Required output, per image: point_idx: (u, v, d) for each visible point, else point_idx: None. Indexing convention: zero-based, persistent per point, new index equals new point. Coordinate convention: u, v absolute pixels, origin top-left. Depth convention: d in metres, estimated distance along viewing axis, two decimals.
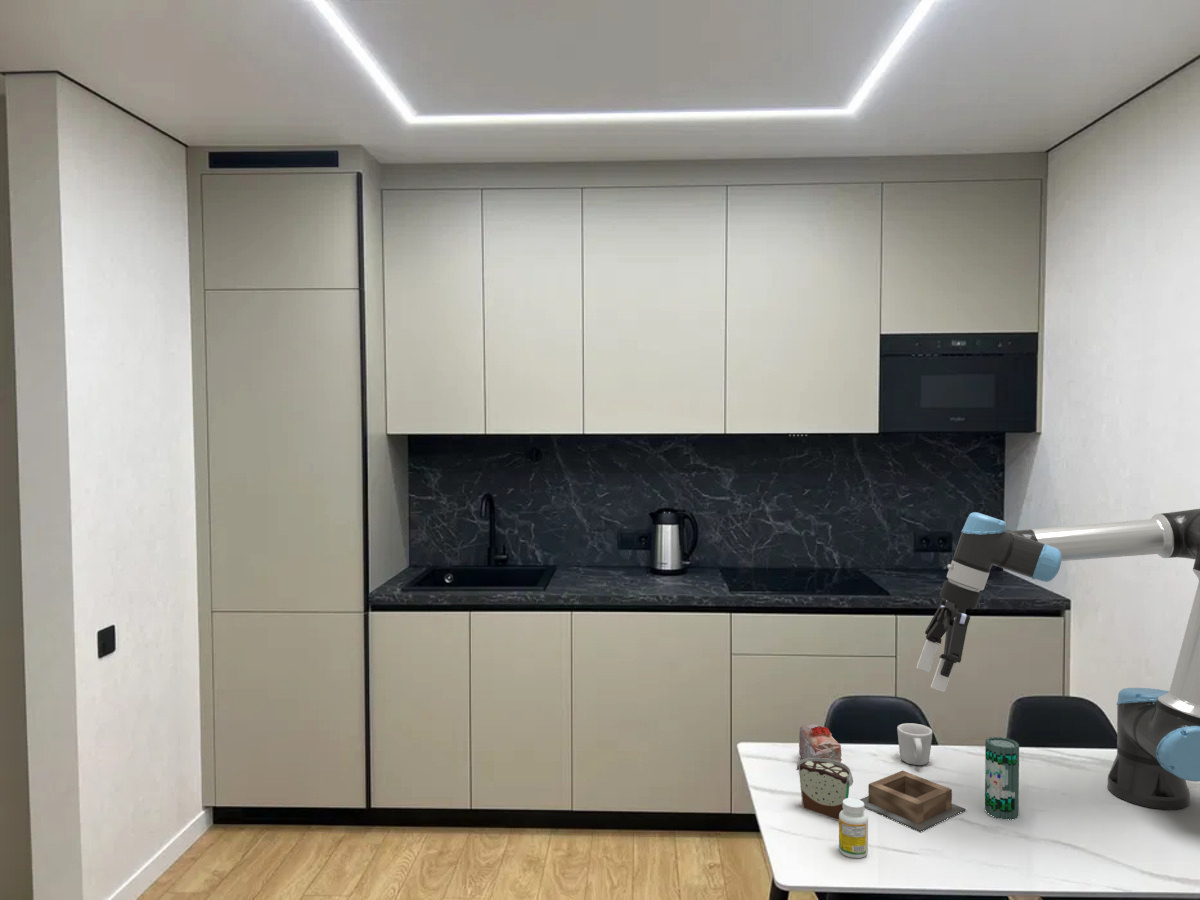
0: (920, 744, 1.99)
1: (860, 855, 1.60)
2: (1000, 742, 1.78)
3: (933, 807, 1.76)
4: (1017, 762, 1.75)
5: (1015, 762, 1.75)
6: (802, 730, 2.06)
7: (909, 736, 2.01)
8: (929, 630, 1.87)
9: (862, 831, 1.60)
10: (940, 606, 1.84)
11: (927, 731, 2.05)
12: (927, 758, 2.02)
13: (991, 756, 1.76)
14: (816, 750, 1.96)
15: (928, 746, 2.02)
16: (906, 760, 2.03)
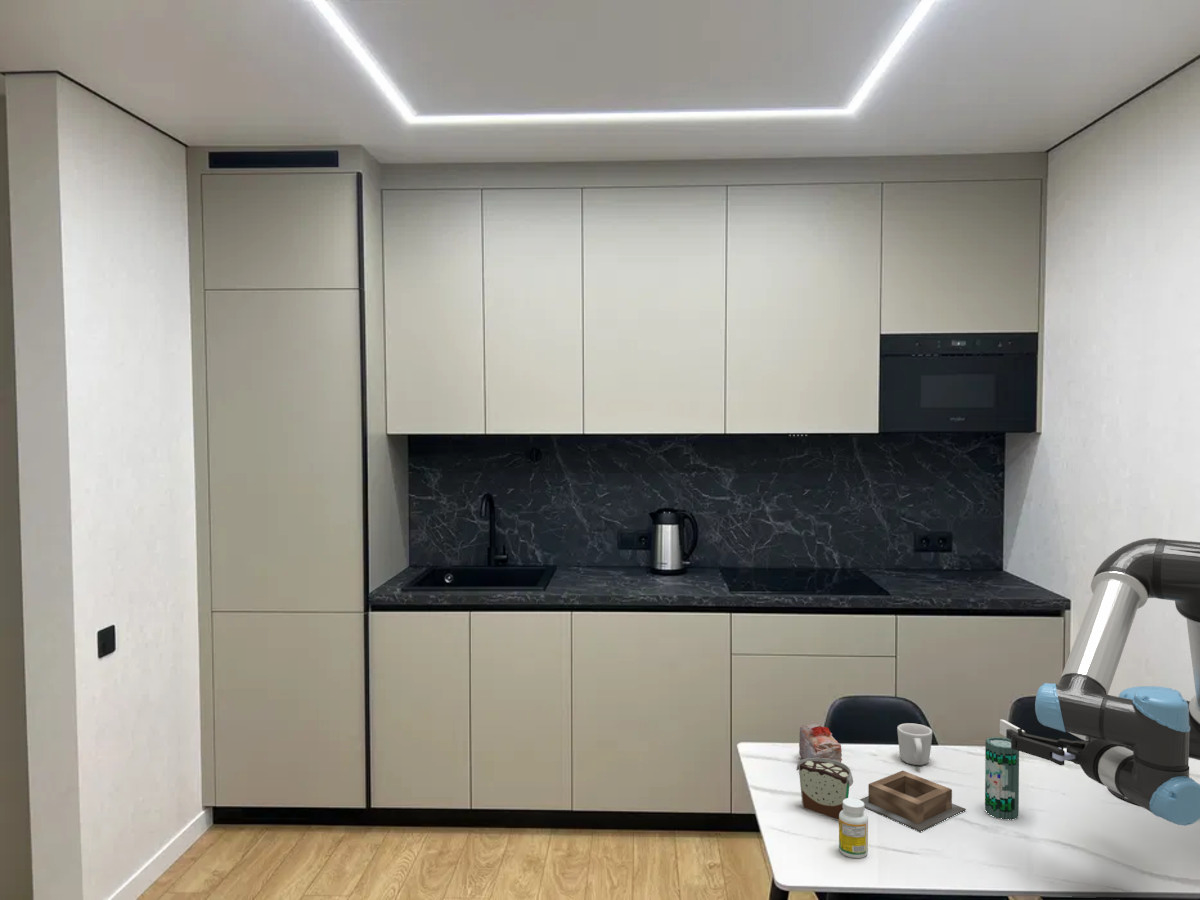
0: (920, 744, 1.99)
1: (860, 855, 1.60)
2: (1000, 742, 1.78)
3: (933, 807, 1.76)
4: (1017, 762, 1.75)
5: (1015, 762, 1.75)
6: (802, 730, 2.06)
7: (909, 736, 2.01)
8: None
9: (862, 831, 1.60)
10: None
11: (927, 731, 2.05)
12: (927, 758, 2.02)
13: (991, 756, 1.76)
14: (816, 750, 1.96)
15: (928, 746, 2.02)
16: (906, 760, 2.03)
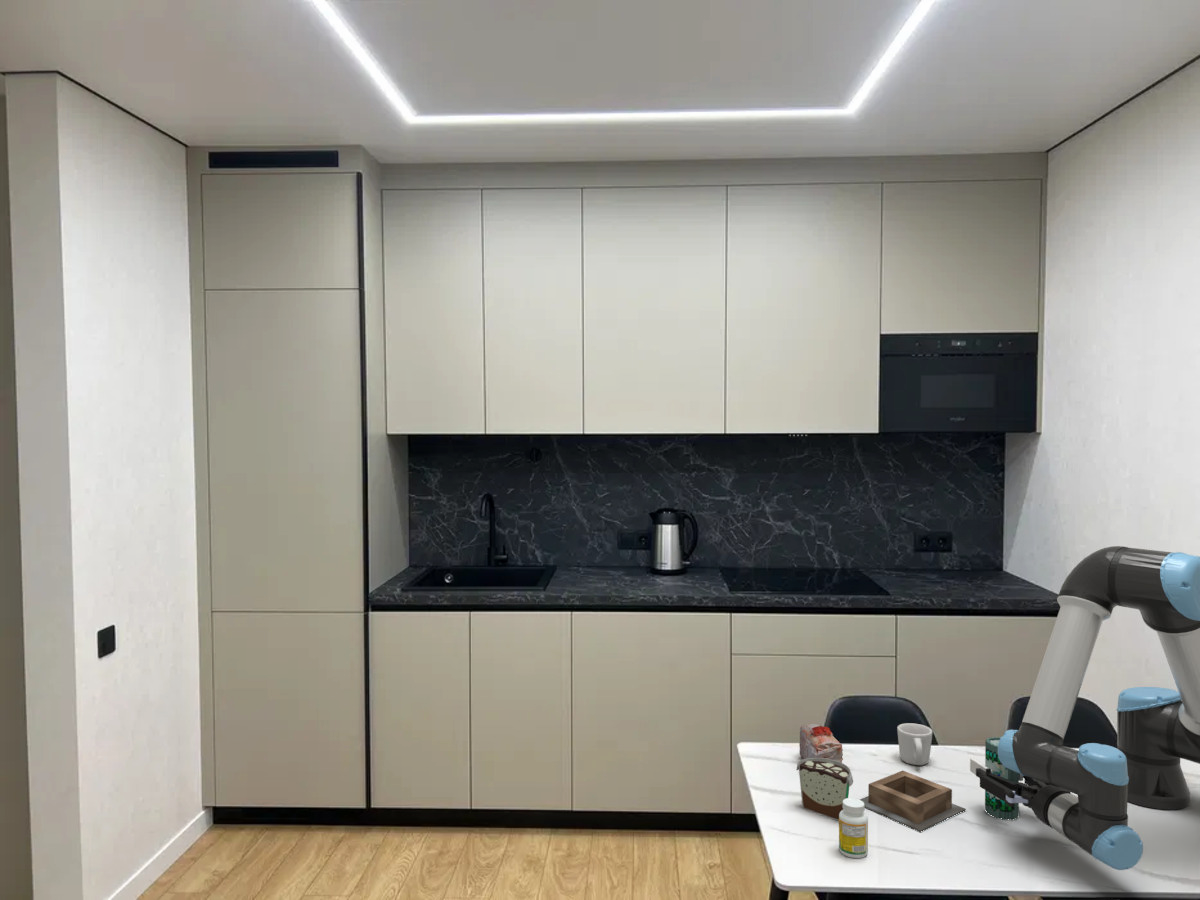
0: (920, 744, 1.99)
1: (860, 855, 1.60)
2: None
3: (933, 807, 1.76)
4: None
5: None
6: (803, 730, 2.06)
7: (909, 736, 2.01)
8: None
9: (862, 831, 1.60)
10: None
11: (927, 731, 2.05)
12: (927, 758, 2.02)
13: (991, 756, 1.76)
14: (818, 750, 1.96)
15: (928, 746, 2.02)
16: (906, 760, 2.03)
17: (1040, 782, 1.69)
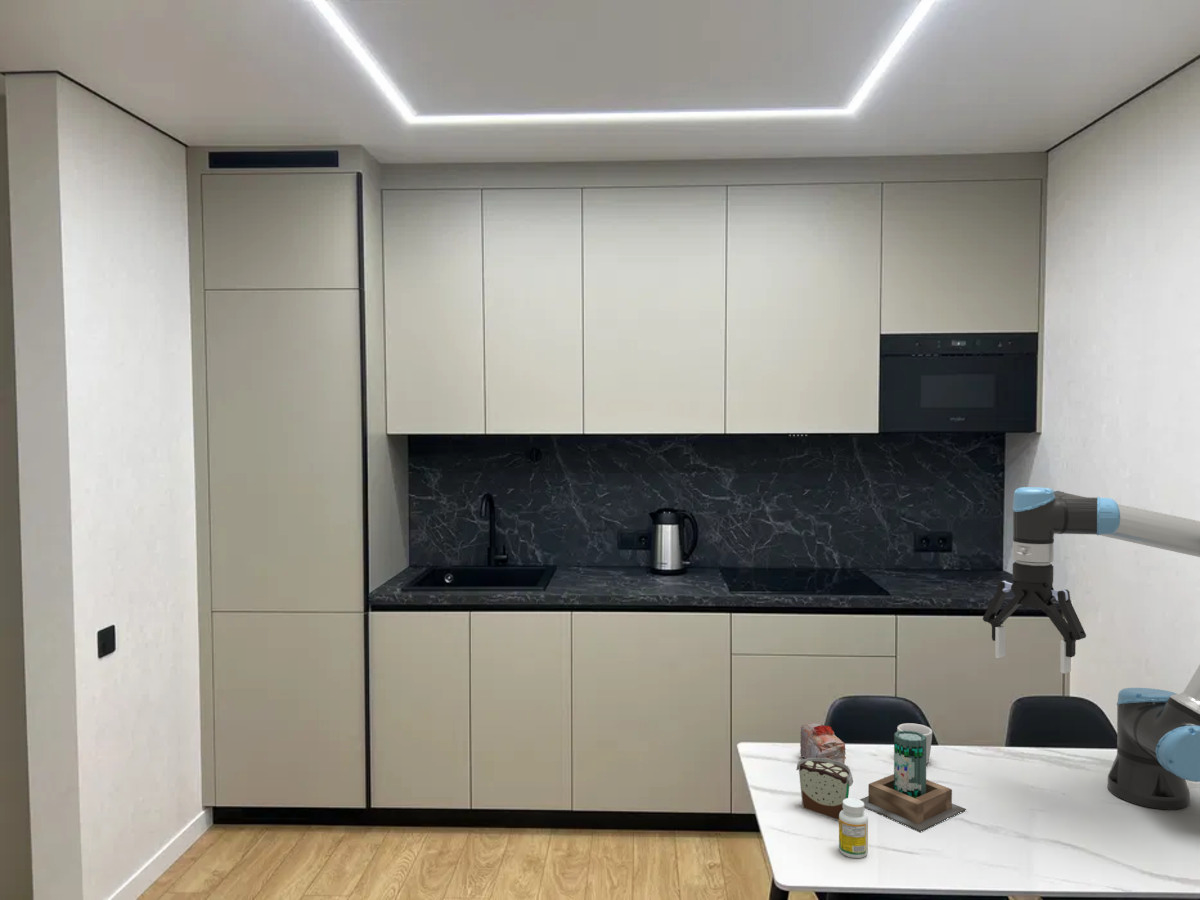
0: None
1: (860, 855, 1.60)
2: (908, 736, 1.81)
3: (933, 807, 1.76)
4: (924, 755, 1.78)
5: (922, 755, 1.78)
6: (804, 729, 2.06)
7: None
8: (990, 616, 1.82)
9: (862, 831, 1.60)
10: (1001, 590, 1.79)
11: (927, 731, 2.05)
12: (927, 758, 2.02)
13: (898, 749, 1.79)
14: (821, 749, 1.96)
15: (928, 746, 2.02)
16: None
17: None
